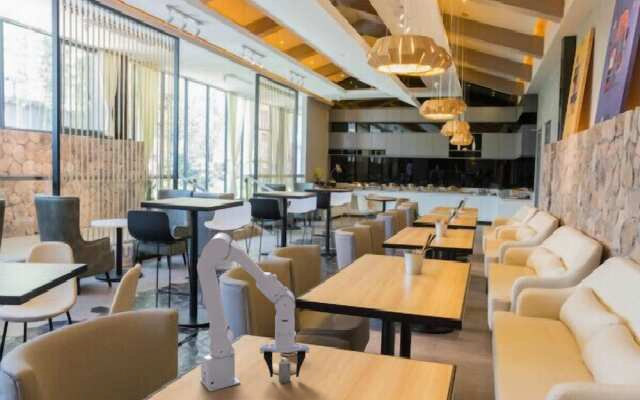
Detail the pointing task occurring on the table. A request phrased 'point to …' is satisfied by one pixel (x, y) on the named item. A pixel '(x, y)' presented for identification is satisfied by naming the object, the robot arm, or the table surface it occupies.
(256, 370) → the table surface
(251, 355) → the table surface
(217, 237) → the robot arm
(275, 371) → the coaster
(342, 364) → the table surface
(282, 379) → the plug
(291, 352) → the supplement bottle
